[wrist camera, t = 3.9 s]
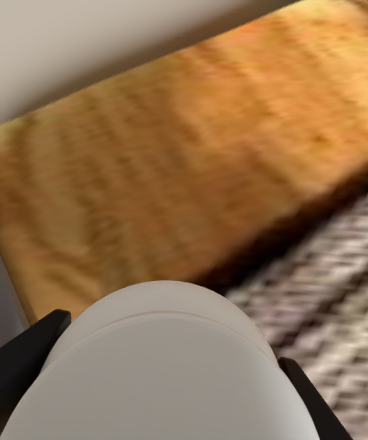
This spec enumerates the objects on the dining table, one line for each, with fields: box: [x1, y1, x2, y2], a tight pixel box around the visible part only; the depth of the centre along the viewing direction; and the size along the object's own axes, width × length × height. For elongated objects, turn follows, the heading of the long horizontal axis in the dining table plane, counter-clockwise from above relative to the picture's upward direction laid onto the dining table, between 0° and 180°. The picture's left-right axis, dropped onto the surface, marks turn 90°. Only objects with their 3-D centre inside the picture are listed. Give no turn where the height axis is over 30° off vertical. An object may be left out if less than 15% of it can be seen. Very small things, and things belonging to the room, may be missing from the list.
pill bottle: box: [0, 280, 320, 440], centre depth 9 cm, size 6×6×11 cm
